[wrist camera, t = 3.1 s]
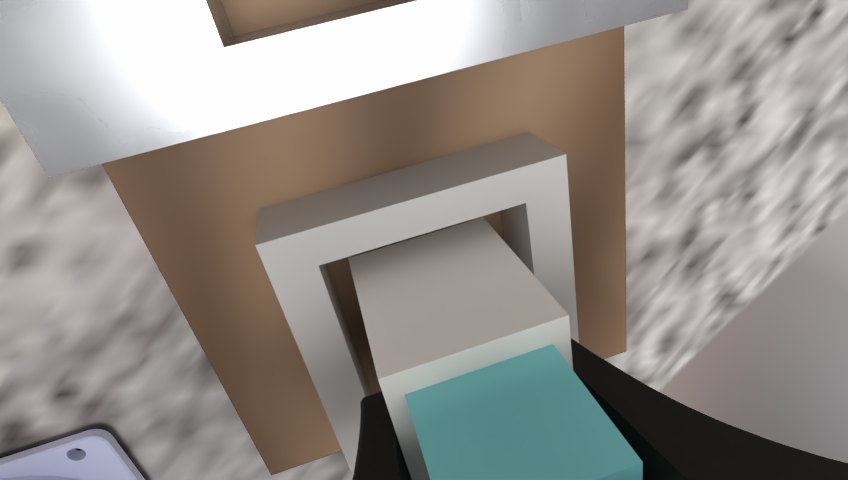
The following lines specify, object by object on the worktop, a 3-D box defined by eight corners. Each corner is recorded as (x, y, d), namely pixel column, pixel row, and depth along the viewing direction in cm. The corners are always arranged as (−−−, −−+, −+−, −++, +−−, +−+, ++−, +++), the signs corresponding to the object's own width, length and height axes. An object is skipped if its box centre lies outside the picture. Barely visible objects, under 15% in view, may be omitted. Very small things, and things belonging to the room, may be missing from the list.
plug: (396, 408, 17) (476, 700, 10) (347, 258, 14) (413, 522, 7) (507, 369, 17) (657, 623, 11) (482, 216, 15) (666, 426, 8)
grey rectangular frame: (352, 441, 18) (360, 494, 16) (259, 209, 14) (255, 245, 12) (554, 371, 19) (583, 414, 17) (529, 132, 15) (566, 154, 13)
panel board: (271, 456, 19) (271, 475, 18) (-311, -641, 7) (-374, -709, 6) (614, 338, 20) (626, 351, 20) (591, -706, 9) (617, -765, 8)
